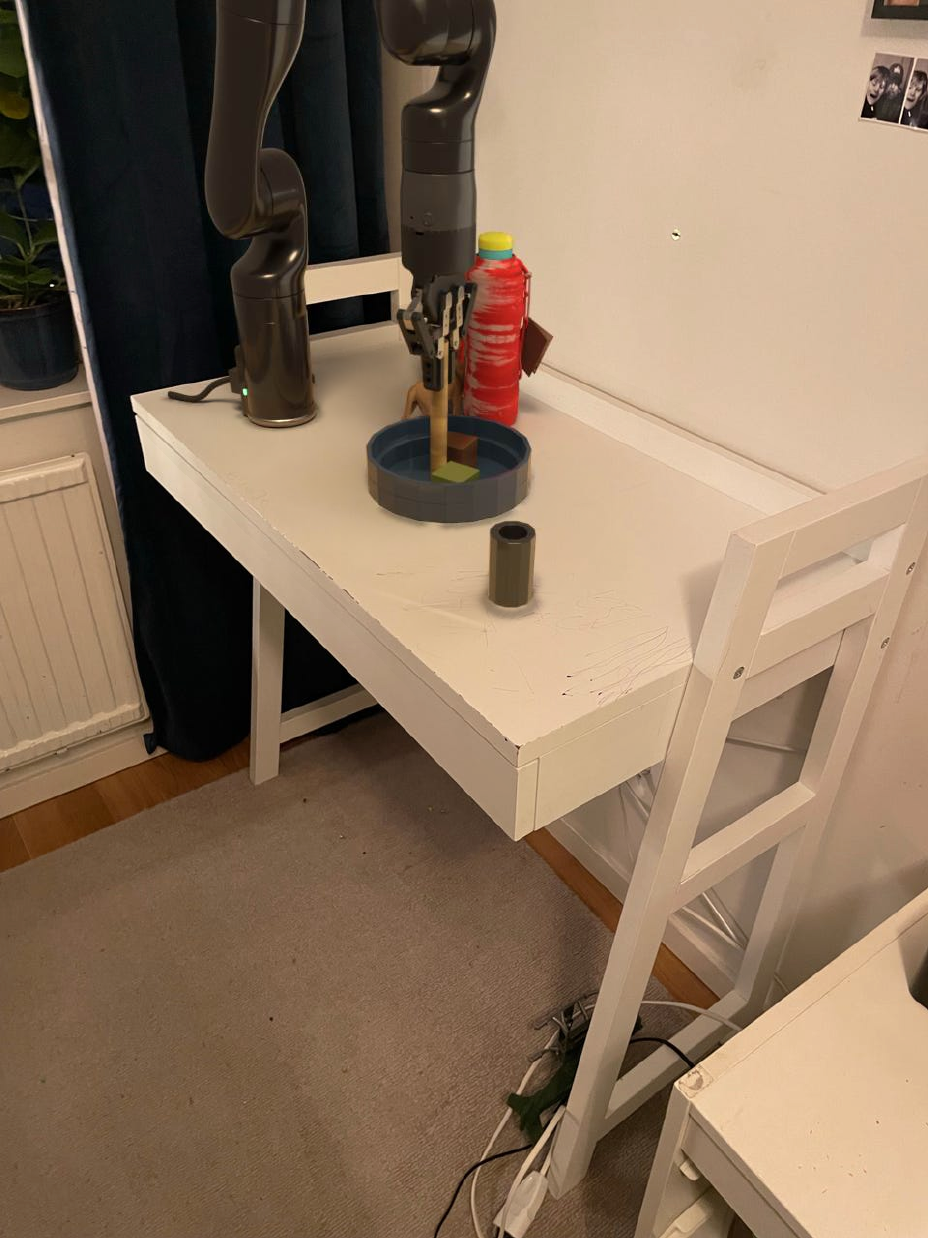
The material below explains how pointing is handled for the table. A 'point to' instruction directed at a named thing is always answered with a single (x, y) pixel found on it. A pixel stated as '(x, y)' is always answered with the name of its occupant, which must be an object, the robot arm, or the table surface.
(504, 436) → the bowl
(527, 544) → the holder
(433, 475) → the olive block
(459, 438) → the walnut block
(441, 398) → the stirring stick
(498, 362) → the water bottle
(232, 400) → the table surface
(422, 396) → the lion figurine
